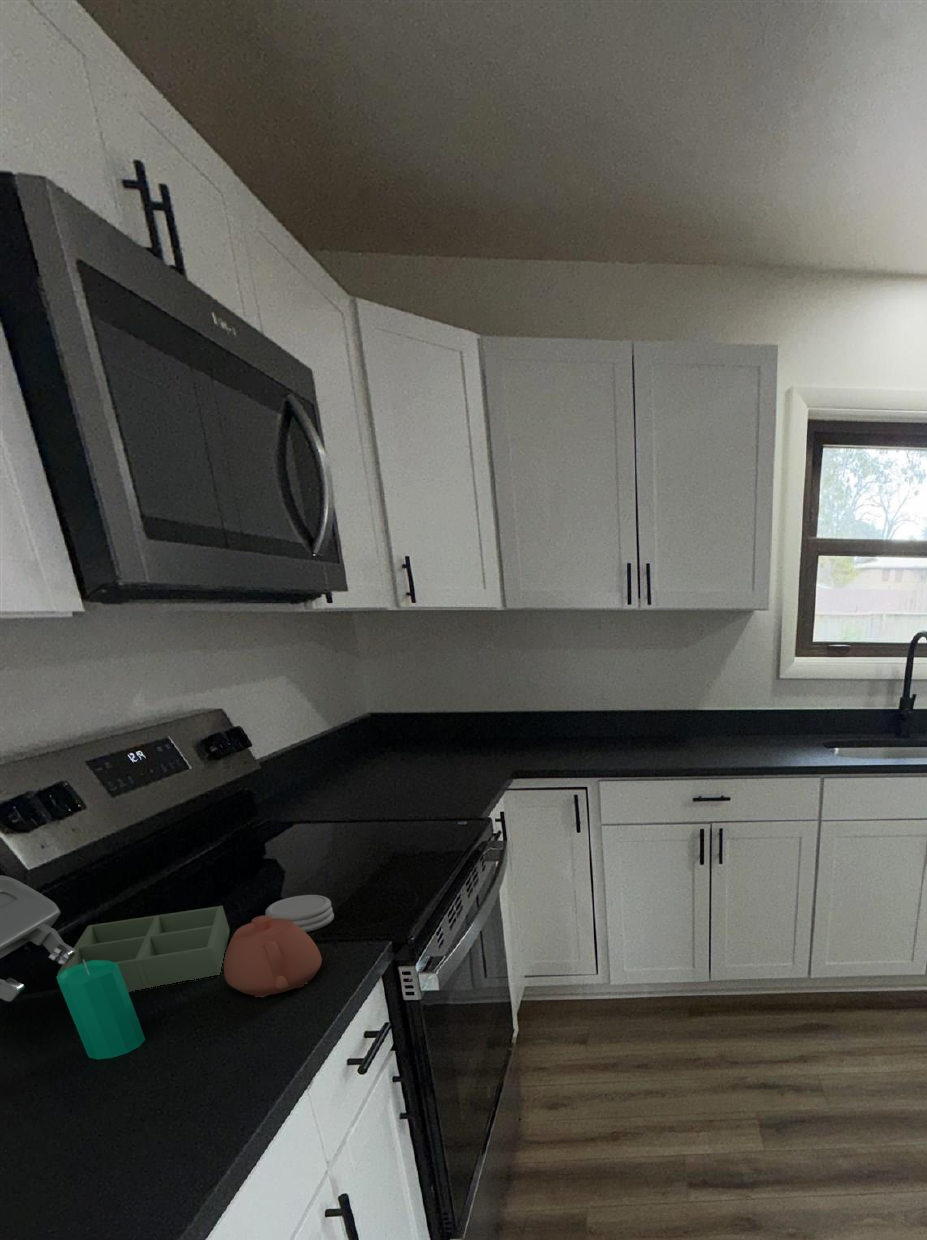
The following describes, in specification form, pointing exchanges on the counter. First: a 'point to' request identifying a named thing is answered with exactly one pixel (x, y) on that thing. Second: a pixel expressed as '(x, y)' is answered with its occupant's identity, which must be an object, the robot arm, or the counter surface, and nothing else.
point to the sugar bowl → (270, 957)
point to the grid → (158, 947)
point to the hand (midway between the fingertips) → (45, 975)
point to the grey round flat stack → (303, 911)
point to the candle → (101, 1008)
